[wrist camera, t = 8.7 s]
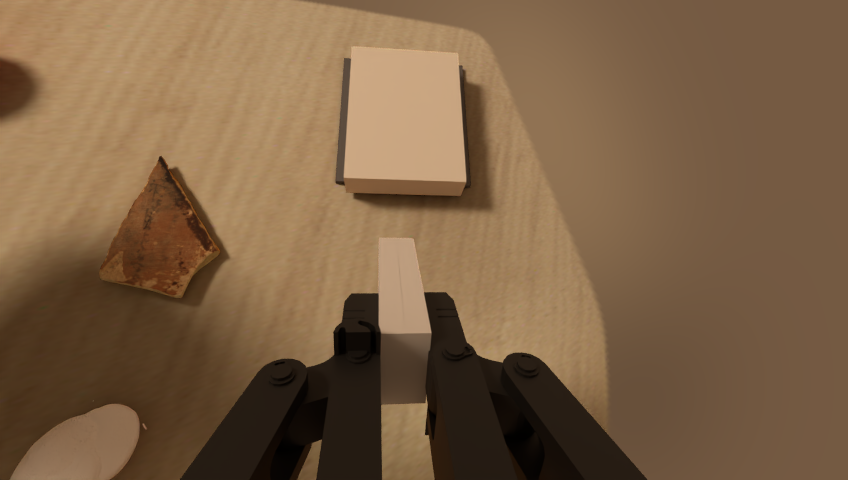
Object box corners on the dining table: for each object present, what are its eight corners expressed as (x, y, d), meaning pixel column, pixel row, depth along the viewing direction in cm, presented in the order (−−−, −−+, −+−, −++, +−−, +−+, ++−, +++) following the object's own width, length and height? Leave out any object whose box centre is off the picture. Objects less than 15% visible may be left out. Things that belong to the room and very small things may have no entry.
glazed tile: (343, 177, 31) (351, 45, 36) (346, 193, 34) (353, 67, 39) (466, 181, 32) (457, 53, 37) (460, 196, 35) (453, 74, 40)
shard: (169, 164, 34) (158, 153, 32) (254, 185, 34) (248, 175, 32) (104, 282, 30) (87, 276, 28) (201, 305, 30) (191, 300, 28)
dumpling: (56, 524, 24) (-3, 547, 20) (32, 444, 25) (-27, 453, 22) (171, 454, 26) (136, 464, 22) (144, 383, 27) (106, 382, 24)
